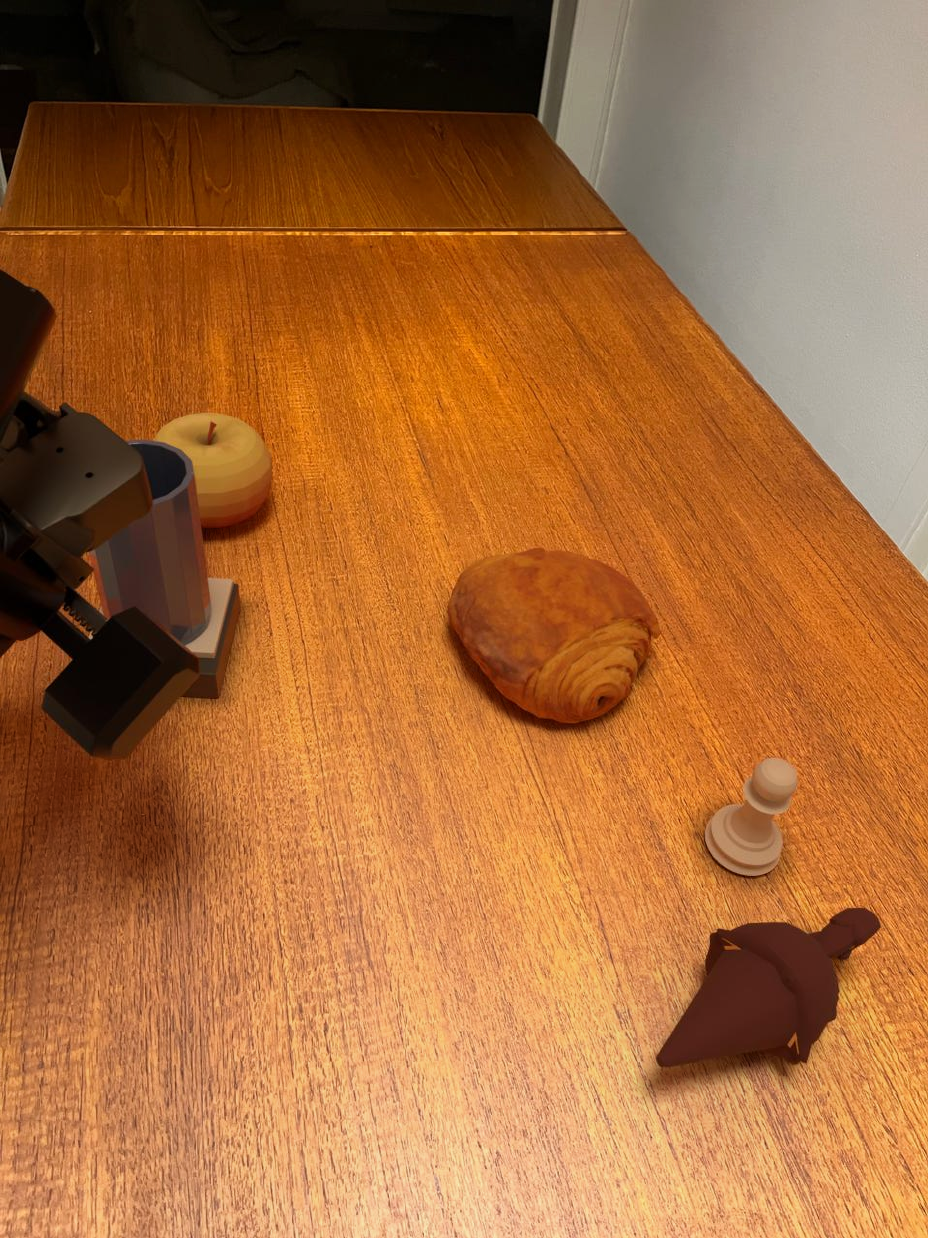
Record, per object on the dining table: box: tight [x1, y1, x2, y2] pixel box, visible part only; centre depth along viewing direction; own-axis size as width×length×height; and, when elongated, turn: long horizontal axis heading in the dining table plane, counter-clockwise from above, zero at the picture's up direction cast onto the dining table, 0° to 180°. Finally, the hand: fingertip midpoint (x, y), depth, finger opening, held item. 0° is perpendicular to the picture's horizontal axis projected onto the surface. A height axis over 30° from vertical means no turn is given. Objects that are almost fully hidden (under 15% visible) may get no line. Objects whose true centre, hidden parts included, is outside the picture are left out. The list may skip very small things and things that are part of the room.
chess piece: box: [704, 757, 799, 877], centre depth 58 cm, size 5×5×8 cm
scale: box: [87, 577, 242, 699], centre depth 67 cm, size 9×9×3 cm
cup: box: [88, 439, 212, 645], centre depth 62 cm, size 7×7×12 cm
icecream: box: [655, 907, 882, 1069], centre depth 50 cm, size 7×7×15 cm
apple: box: [152, 412, 274, 529], centre depth 77 cm, size 10×10×8 cm
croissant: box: [446, 547, 661, 724], centre depth 69 cm, size 14×16×8 cm
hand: (99, 632), depth 54 cm, fingers open, 9 cm apart
